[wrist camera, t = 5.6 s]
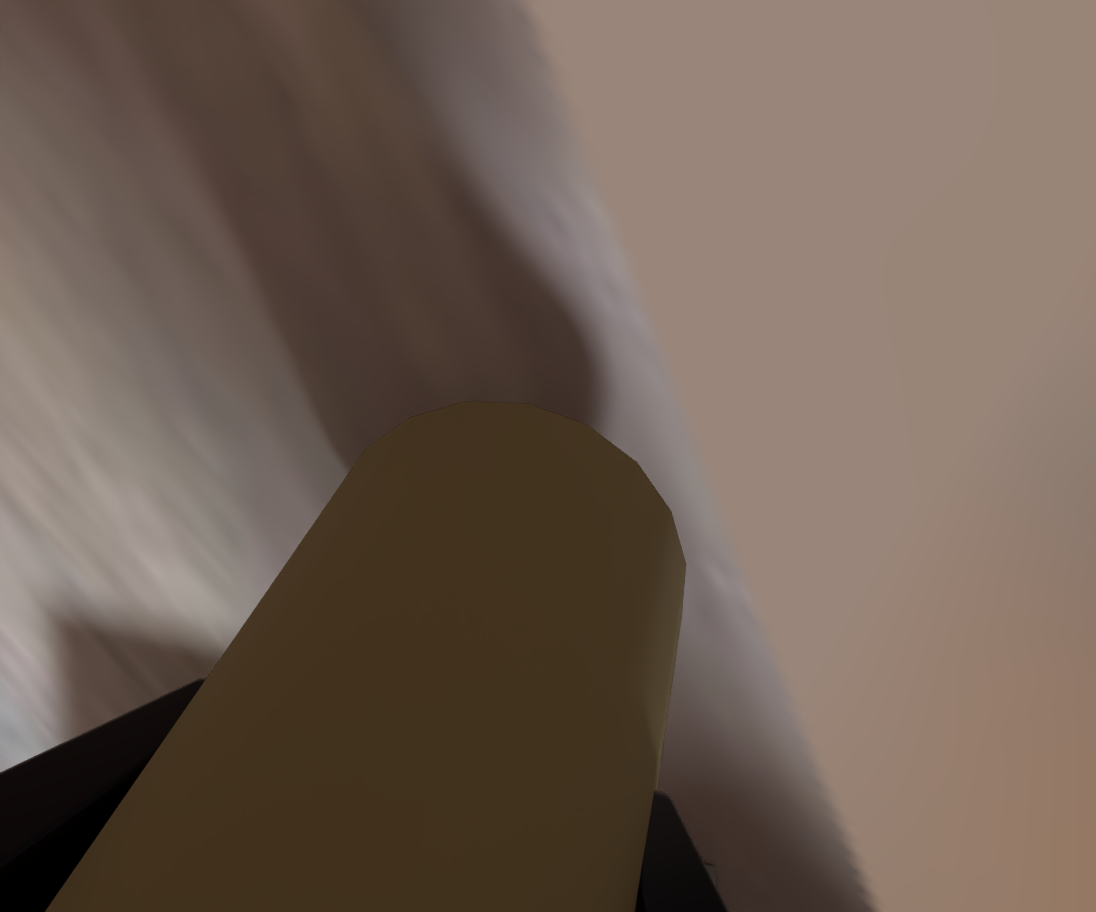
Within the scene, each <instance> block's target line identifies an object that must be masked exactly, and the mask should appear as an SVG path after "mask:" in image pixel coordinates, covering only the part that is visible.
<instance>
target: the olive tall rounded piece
mask: <svg viewBox="0 0 1096 912" xmlns="http://www.w3.org/2000/svg"><path fill="white" fill-rule="evenodd" d="M685 572H686V562H685V558H684V555H683V551H682V548H681V544H680V541H679V537H678V534H677V530H676V526H675V523H674V519H673V516H672V512H671V510H670V509H669V507H668V506H667V504H666V503H665V502H664V500H663V499H662V497H661V496H660V494H659V493H658V492H657V490H656V489H655V487H654V486H653V484H652V483H651V482H650V480H649V479H648V477H647V476H646V474H645V473H644V471H643V470H642V469H641V467H640V466H639V464H638V463H637V462H636V461H635V460H633V459H632V458H631V457H629V456H628V455H627V454H625V453H624V452H623V451H621V450H620V449H619V448H617V447H616V446H615V445H613V444H612V443H611V442H609V441H608V440H607V439H605V438H604V437H603V436H601V435H600V434H599V433H597V432H596V431H595V430H593V429H592V428H591V427H589V426H588V425H586V424H583V423H580V422H578V421H575V420H572V419H569V418H567V417H564V416H561V415H558V414H555V413H553V412H550V411H547V410H544V409H541V408H539V407H536V406H533V405H530V404H523V403H499V402H474V401H465V402H462V403H458V404H455V405H451V406H448V407H444V408H441V409H437V410H434V411H430V412H426V413H423V414H419V415H416V416H412V417H410V418H408V419H407V420H405V421H404V422H403V423H401V424H400V425H398V426H397V427H396V428H394V429H393V430H391V431H390V432H389V433H387V434H386V435H384V436H383V437H381V438H380V439H379V440H377V441H376V442H374V443H373V444H372V445H370V446H369V447H367V448H366V449H365V450H364V452H363V453H362V455H361V456H360V458H359V459H358V461H357V462H356V463H355V465H354V466H353V468H352V469H351V471H350V472H349V474H348V475H347V476H346V478H345V479H344V481H343V482H342V484H341V485H340V487H339V488H338V489H337V491H336V492H335V494H334V495H333V497H332V498H331V500H330V501H329V502H328V504H327V505H326V507H325V508H324V510H323V511H322V513H321V514H320V515H319V517H318V518H317V520H316V521H315V523H314V524H313V526H312V527H311V528H310V530H309V531H308V533H307V534H306V536H305V537H304V539H303V540H302V541H301V543H300V544H299V546H298V547H297V549H296V550H295V552H294V553H293V554H292V556H291V557H290V559H289V560H288V562H287V563H286V565H285V566H284V567H283V569H282V570H281V572H280V573H279V575H278V576H277V578H276V579H275V580H274V582H273V583H272V585H271V586H270V588H269V589H268V590H267V592H266V593H265V595H264V596H263V598H262V599H261V601H260V602H259V603H258V605H257V606H256V608H255V609H254V611H253V612H252V614H251V615H250V616H249V618H248V619H247V621H246V622H245V624H244V625H243V627H242V628H241V629H240V631H239V632H238V634H237V635H236V637H235V638H234V640H233V641H232V642H231V644H230V645H229V647H228V648H227V650H226V651H225V653H224V654H223V655H222V657H221V658H220V660H219V661H218V663H217V664H216V666H215V667H214V668H213V670H212V671H211V673H210V674H209V676H208V677H207V679H206V680H205V681H204V683H203V684H202V686H201V687H200V689H199V690H198V692H197V693H196V694H195V696H194V697H193V699H192V700H191V702H190V703H189V705H188V706H187V707H186V709H185V710H184V712H183V713H182V715H181V716H180V718H179V719H178V720H177V722H176V723H175V725H174V726H173V728H172V729H171V731H170V732H169V733H168V735H167V736H166V738H165V739H164V741H163V742H162V744H161V745H160V746H159V748H158V749H157V751H156V752H155V754H154V755H153V757H152V758H151V759H150V761H149V762H148V764H147V765H146V767H145V768H144V770H143V771H142V772H141V774H140V775H139V777H138V778H137V780H136V781H135V783H134V784H133V785H132V787H131V788H130V790H129V791H128V793H127V794H126V796H125V797H124V798H123V800H122V801H121V803H120V804H119V806H118V807H117V809H116V810H115V811H114V813H113V814H112V816H111V817H110V819H109V820H108V822H107V823H106V824H105V826H104V827H103V829H102V830H101V832H100V833H99V835H98V836H97V837H96V839H95V840H94V842H93V843H92V845H91V846H90V848H89V849H88V850H87V852H86V853H85V855H84V856H83V858H82V859H81V861H80V862H79V863H78V865H77V866H76V868H75V869H74V871H73V872H72V873H71V875H70V876H69V878H68V879H67V881H66V882H65V884H64V885H63V886H62V888H61V889H60V891H59V892H58V894H57V895H56V897H55V898H54V899H53V901H52V902H51V904H50V905H49V907H48V908H47V910H46V911H45V912H635V909H636V901H637V894H638V887H639V880H640V874H641V868H642V862H643V855H644V849H645V843H646V837H647V831H648V825H649V819H650V813H651V807H652V801H653V795H654V790H657V785H658V778H659V771H660V764H661V757H662V750H663V743H664V736H665V730H666V723H667V716H668V709H669V702H670V695H671V688H672V681H673V674H674V667H675V660H676V653H677V646H678V639H679V632H680V625H681V618H682V608H683V596H684V584H685Z"/></svg>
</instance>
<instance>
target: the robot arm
mask: <svg viewBox="0 0 1096 912" xmlns="http://www.w3.org/2000/svg"><path fill="white" fill-rule="evenodd" d="M206 679H207V678H202V679H198V680H195V681H193V682H191V683H189V684H186V685H184V686H182V687H180V688H178V689H176V690H174V691H172V692H170V693H167V694H165V695H163V696H161V697H159V698H157V699H155V700H153V701H151V702H148V703H146V704H144V705H142V706H140V707H138V708H136V709H134V710H131V711H129V712H127V713H125V714H123V715H121V716H119V717H117V718H115V719H112V720H110V721H108V722H106V723H104V724H102V725H100V726H98V727H96V728H93V729H91V730H89V731H87V732H85V733H83V734H81V735H79V736H77V737H74V738H72V739H70V740H68V741H66V742H64V743H62V744H60V745H57V746H55V747H53V748H51V749H49V750H47V751H45V752H43V753H41V754H38V755H36V756H34V757H32V758H30V759H28V760H26V761H24V762H22V763H19V764H17V765H15V766H13V767H11V768H9V769H7V770H5V771H3V772H0V912H45V911H46V910H47V908H48V907H49V905H50V904H51V902H52V901H53V899H54V898H55V897H56V895H57V894H58V892H59V891H60V889H61V888H62V886H63V885H64V884H65V882H66V881H67V879H68V878H69V876H70V875H71V873H72V872H73V871H74V869H75V868H76V866H77V865H78V863H79V862H80V861H81V859H82V858H83V856H84V855H85V853H86V852H87V850H88V849H89V848H90V846H91V845H92V843H93V842H94V840H95V839H96V837H97V836H98V835H99V833H100V832H101V830H102V829H103V827H104V826H105V824H106V823H107V822H108V820H109V819H110V817H111V816H112V814H113V813H114V811H115V810H116V809H117V807H118V806H119V804H120V803H121V801H122V800H123V798H124V797H125V796H126V794H127V793H128V791H129V790H130V788H131V787H132V785H133V784H134V783H135V781H136V780H137V778H138V777H139V775H140V774H141V772H142V771H143V770H144V768H145V767H146V765H147V764H148V762H149V761H150V759H151V758H152V757H153V755H154V754H155V752H156V751H157V749H158V748H159V746H160V745H161V744H162V742H163V741H164V739H165V738H166V736H167V735H168V733H169V732H170V731H171V729H172V728H173V726H174V725H175V723H176V722H177V720H178V719H179V718H180V716H181V715H182V713H183V712H184V710H185V709H186V707H187V706H188V705H189V703H190V702H191V700H192V699H193V697H194V696H195V694H196V693H197V692H198V690H199V689H200V687H201V686H202V684H203V683H204V681H205V680H206ZM635 912H729V911H728V909H727V907H726V905H725V903H724V901H723V899H722V898H721V896H720V894H719V892H718V890H717V888H716V886H715V884H714V882H713V880H712V878H711V876H710V874H709V872H708V870H707V868H706V866H705V864H704V862H703V860H702V858H701V856H700V854H699V852H698V850H697V848H696V846H695V844H694V842H693V840H692V838H691V836H690V834H689V832H688V830H687V828H686V826H685V824H684V822H683V820H682V819H681V817H680V815H679V813H678V811H677V809H676V807H675V805H674V803H673V801H672V799H671V798H670V796H669V795H668V794H666V793H664V792H661V791H657V790H654V795H653V801H652V807H651V813H650V819H649V825H648V831H647V837H646V843H645V849H644V855H643V862H642V868H641V874H640V880H639V887H638V894H637V901H636V909H635Z"/></svg>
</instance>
